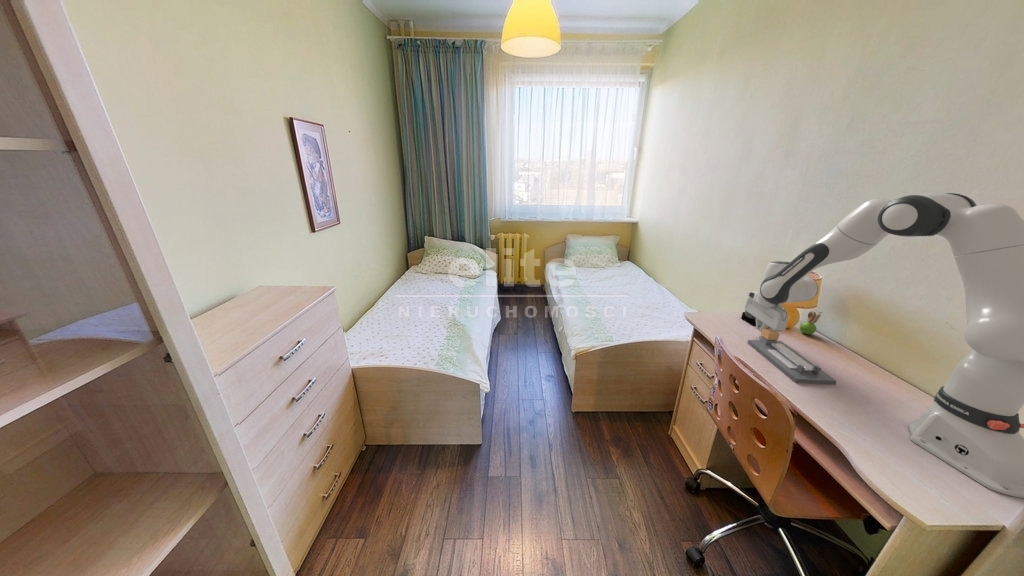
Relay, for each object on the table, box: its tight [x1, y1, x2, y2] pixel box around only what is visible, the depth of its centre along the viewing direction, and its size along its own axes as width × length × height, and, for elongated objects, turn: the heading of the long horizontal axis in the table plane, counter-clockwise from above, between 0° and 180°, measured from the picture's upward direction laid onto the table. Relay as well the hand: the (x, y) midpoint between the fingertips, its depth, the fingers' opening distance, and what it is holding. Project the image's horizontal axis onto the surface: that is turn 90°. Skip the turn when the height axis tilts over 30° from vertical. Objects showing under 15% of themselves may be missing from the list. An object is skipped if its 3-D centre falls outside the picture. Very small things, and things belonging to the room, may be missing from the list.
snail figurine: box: [799, 311, 823, 335], centre depth 140 cm, size 5×6×12 cm
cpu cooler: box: [740, 310, 763, 327], centre depth 151 cm, size 10×6×10 cm
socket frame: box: [747, 335, 838, 385], centre depth 121 cm, size 26×13×4 cm, turn 177°
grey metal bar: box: [772, 343, 816, 371], centre depth 119 cm, size 17×4×1 cm, turn 177°
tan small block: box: [760, 328, 781, 341], centre depth 130 cm, size 4×4×3 cm
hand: (759, 330), depth 136 cm, fingers closed
